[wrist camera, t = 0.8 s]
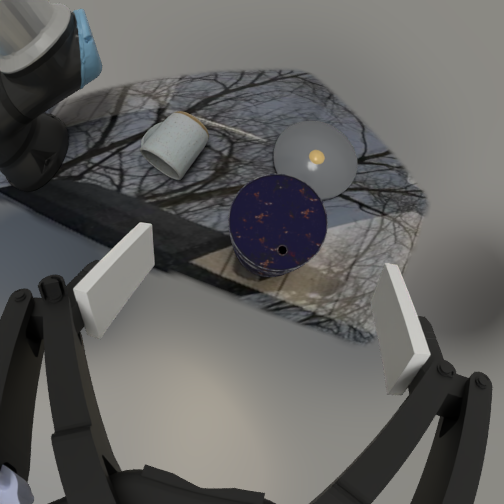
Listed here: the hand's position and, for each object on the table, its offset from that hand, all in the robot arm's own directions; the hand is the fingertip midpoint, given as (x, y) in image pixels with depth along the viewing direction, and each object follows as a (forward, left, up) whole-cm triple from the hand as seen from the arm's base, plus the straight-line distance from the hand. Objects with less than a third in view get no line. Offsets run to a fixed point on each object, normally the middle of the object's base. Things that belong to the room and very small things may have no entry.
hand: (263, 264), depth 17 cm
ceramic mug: (-22, -8, -27) cm, 36 cm away
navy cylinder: (-5, +3, -27) cm, 28 cm away
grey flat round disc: (-16, +13, -27) cm, 34 cm away
